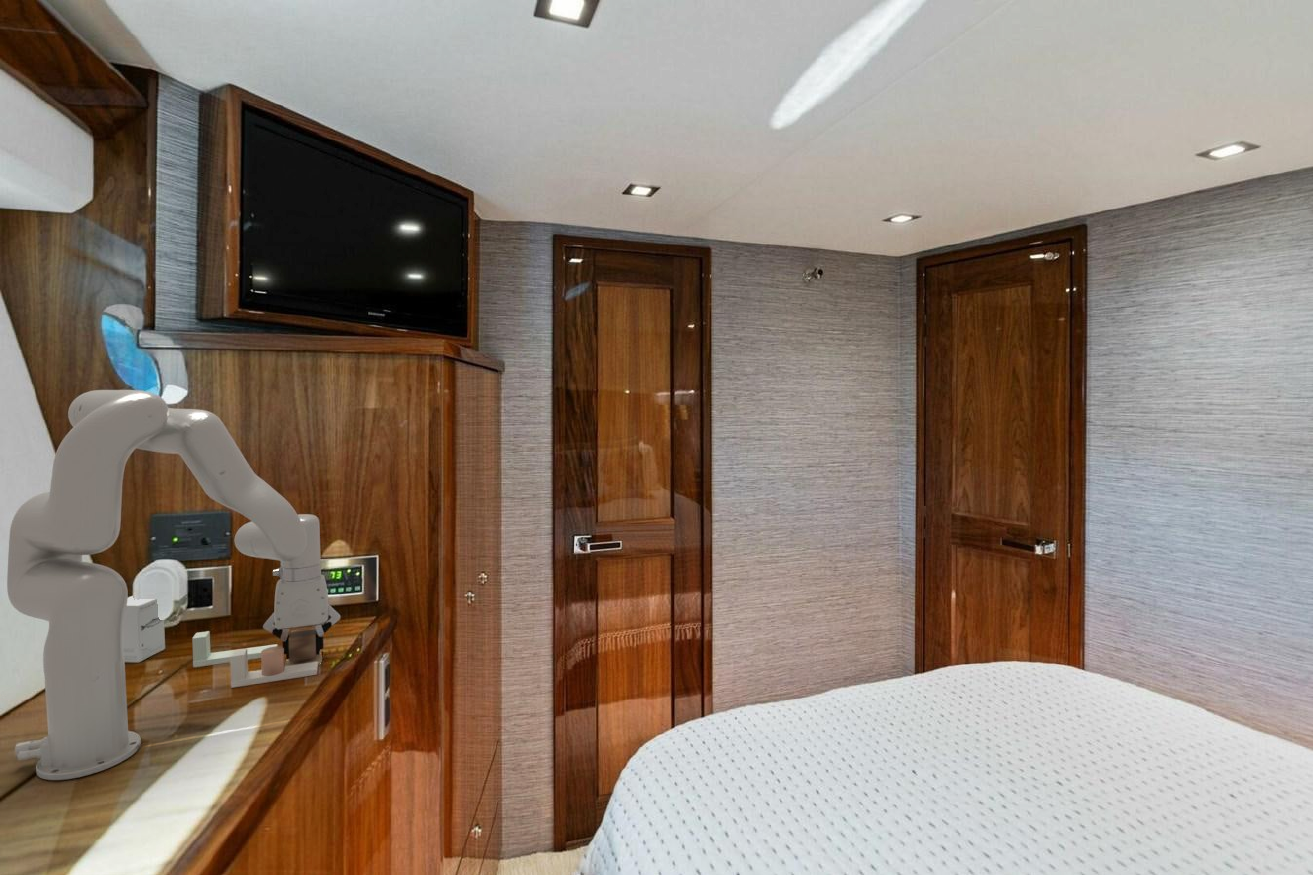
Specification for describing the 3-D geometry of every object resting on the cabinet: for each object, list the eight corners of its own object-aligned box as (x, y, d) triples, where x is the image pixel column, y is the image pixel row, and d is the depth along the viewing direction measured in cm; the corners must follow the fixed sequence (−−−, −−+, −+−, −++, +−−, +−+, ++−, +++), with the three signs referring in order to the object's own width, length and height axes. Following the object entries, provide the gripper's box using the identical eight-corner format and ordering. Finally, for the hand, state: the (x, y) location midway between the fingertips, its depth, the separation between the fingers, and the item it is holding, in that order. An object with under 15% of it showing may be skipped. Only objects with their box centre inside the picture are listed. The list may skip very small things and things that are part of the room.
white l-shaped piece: (193, 667, 135) (191, 638, 135) (197, 660, 139) (196, 632, 138) (275, 655, 141) (274, 628, 141) (277, 649, 145) (276, 622, 144)
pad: (283, 669, 135) (283, 668, 135) (287, 657, 141) (287, 655, 141) (321, 664, 137) (321, 662, 137) (323, 651, 144) (323, 650, 144)
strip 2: (230, 687, 126) (229, 657, 126) (234, 679, 130) (233, 649, 129) (316, 674, 132) (316, 645, 132) (318, 666, 136) (317, 638, 135)
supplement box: (140, 663, 138) (137, 605, 137) (106, 662, 138) (103, 605, 138) (166, 649, 146) (164, 594, 145) (134, 648, 146) (132, 594, 145)
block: (289, 661, 136) (288, 638, 135) (291, 652, 140) (291, 630, 140) (315, 657, 138) (315, 635, 138) (317, 649, 142) (316, 627, 142)
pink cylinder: (260, 677, 128) (259, 655, 128) (263, 669, 132) (262, 648, 131) (283, 673, 130) (282, 652, 129) (285, 666, 133) (284, 645, 133)
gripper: (252, 581, 131) (255, 668, 132) (344, 572, 138) (346, 654, 139) (257, 572, 138) (260, 654, 139) (345, 564, 145) (347, 642, 146)
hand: (303, 653), depth 139 cm, fingers closed on block, 5 cm apart
